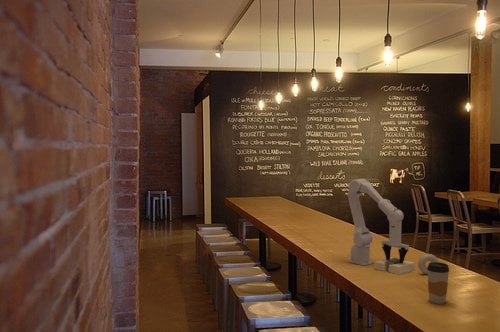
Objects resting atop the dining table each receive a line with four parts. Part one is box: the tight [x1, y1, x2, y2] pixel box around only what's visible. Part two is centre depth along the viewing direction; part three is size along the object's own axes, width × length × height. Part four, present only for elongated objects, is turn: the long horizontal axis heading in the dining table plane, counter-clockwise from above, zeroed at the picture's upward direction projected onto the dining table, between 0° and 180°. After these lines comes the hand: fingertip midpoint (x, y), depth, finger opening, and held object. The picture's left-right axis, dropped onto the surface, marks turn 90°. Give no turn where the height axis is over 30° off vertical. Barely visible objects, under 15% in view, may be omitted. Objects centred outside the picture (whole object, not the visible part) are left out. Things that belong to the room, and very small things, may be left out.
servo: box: [385, 257, 400, 271], centre depth 257 cm, size 4×11×6 cm, turn 132°
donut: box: [417, 253, 440, 275], centre depth 247 cm, size 10×4×10 cm, turn 91°
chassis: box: [374, 257, 416, 275], centre depth 257 cm, size 14×14×4 cm
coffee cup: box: [427, 261, 450, 305], centre depth 206 cm, size 8×8×15 cm
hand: (394, 261), depth 257 cm, fingers open, 7 cm apart
